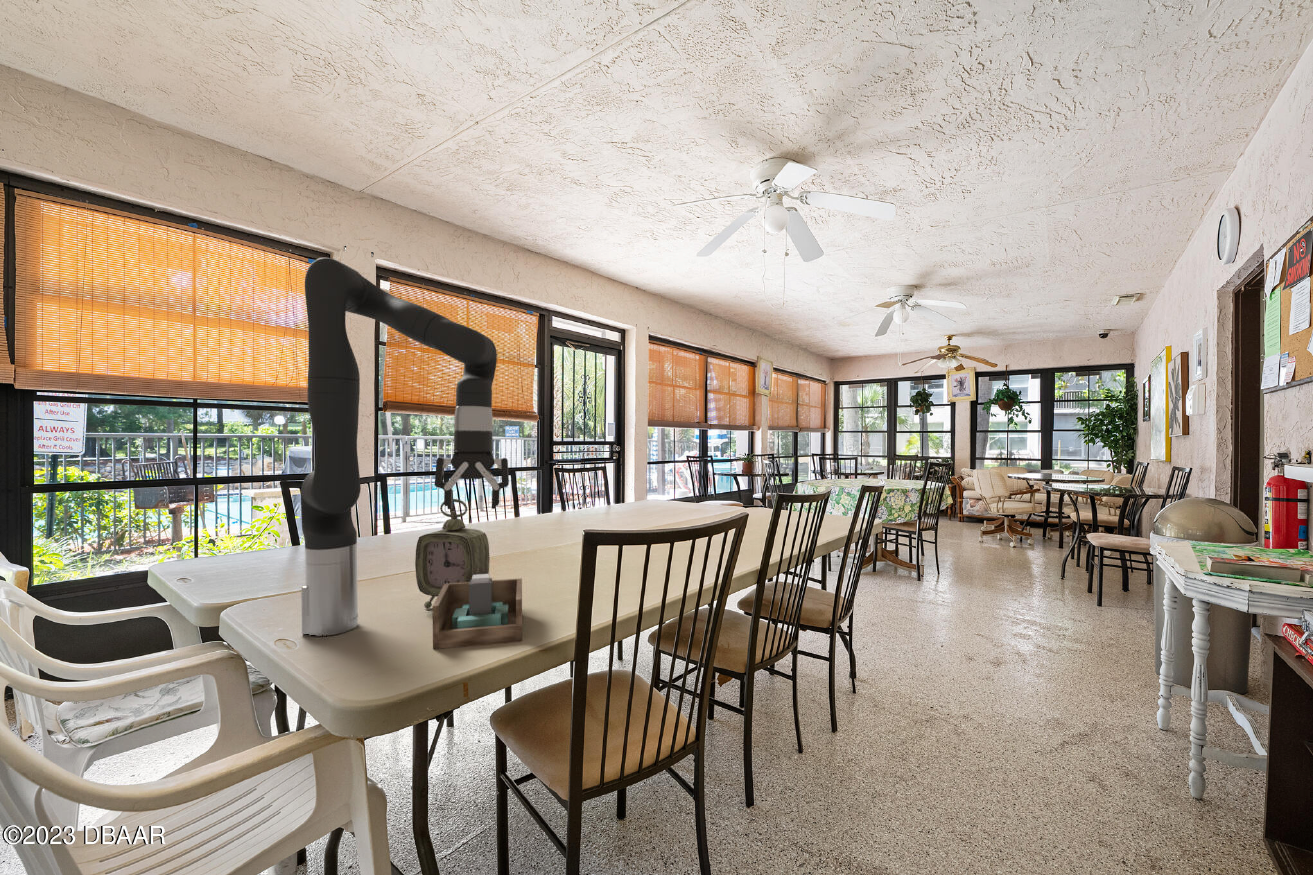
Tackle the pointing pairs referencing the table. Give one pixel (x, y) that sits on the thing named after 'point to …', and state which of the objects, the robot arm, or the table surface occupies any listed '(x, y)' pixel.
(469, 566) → the tabletop clock
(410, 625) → the table surface
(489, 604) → the block
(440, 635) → the walled box
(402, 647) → the table surface
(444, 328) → the robot arm
